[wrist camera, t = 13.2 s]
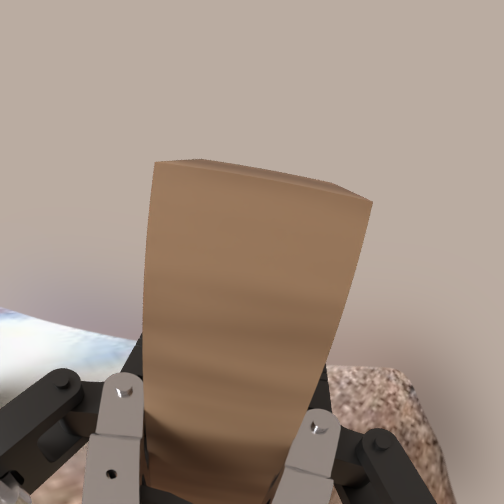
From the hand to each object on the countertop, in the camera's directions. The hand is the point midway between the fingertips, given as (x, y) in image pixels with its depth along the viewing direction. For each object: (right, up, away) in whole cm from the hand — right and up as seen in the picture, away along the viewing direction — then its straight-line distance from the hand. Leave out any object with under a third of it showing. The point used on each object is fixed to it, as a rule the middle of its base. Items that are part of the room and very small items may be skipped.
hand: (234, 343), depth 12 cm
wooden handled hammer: (-2, -10, 0) cm, 10 cm away
